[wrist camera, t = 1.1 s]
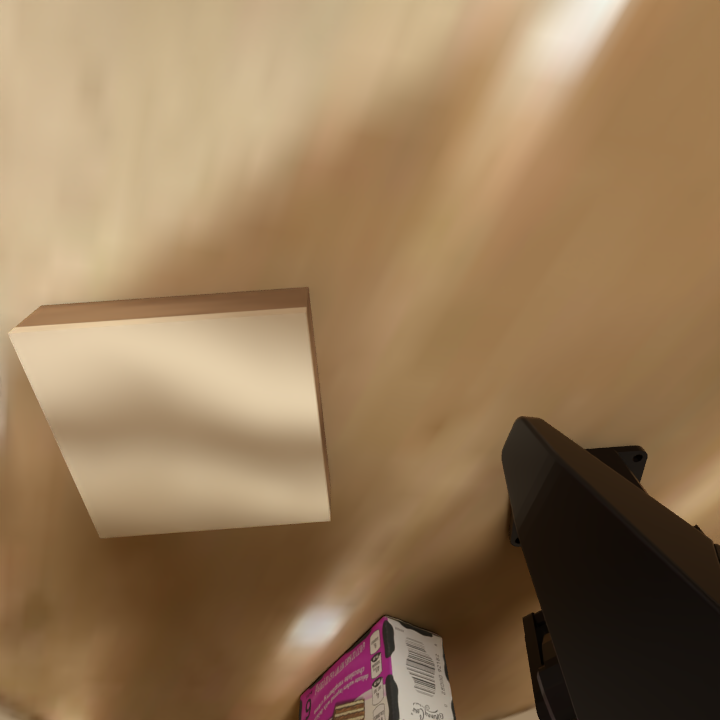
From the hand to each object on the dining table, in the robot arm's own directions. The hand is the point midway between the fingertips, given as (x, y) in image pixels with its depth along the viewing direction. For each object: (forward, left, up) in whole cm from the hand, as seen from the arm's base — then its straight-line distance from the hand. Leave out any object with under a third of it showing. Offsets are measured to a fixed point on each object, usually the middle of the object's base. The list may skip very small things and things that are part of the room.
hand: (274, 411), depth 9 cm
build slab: (-8, +6, -13) cm, 16 cm away
